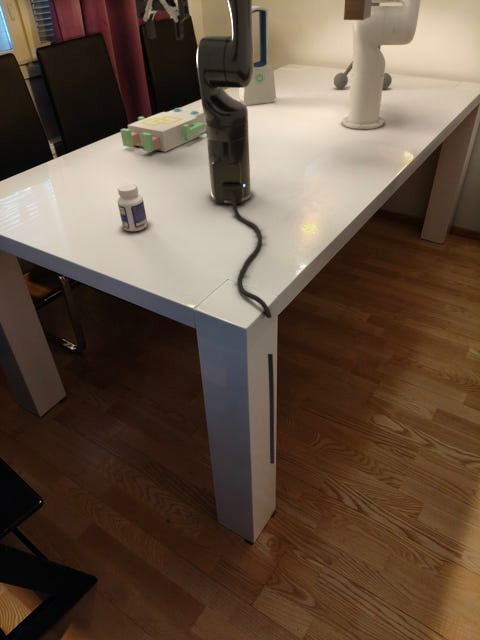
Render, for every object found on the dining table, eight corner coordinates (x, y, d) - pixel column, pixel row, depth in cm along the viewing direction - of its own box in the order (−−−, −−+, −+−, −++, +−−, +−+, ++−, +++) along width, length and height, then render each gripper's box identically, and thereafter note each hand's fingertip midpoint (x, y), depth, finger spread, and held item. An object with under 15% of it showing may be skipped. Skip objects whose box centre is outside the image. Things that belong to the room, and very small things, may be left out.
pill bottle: (149, 220, 107) (142, 181, 102) (146, 231, 103) (138, 191, 98) (125, 221, 107) (116, 182, 102) (121, 232, 103) (112, 193, 98)
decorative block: (168, 104, 160) (216, 111, 150) (170, 124, 164) (217, 132, 154) (109, 125, 144) (159, 134, 134) (114, 147, 148) (162, 157, 138)
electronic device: (244, 105, 178) (240, 9, 160) (238, 101, 184) (234, 7, 165) (276, 101, 180) (276, 5, 162) (270, 97, 186) (269, 4, 168)
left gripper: (190, -44, 111) (197, 37, 121) (142, -42, 117) (152, 36, 127) (170, -42, 106) (180, 42, 116) (121, -40, 112) (134, 40, 122)
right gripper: (416, -115, 95) (401, -4, 107) (334, -107, 102) (329, -4, 114) (405, -117, 90) (391, 0, 102) (320, -108, 97) (316, 0, 109)
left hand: (165, 39), depth 122 cm, fingers open, 8 cm apart
